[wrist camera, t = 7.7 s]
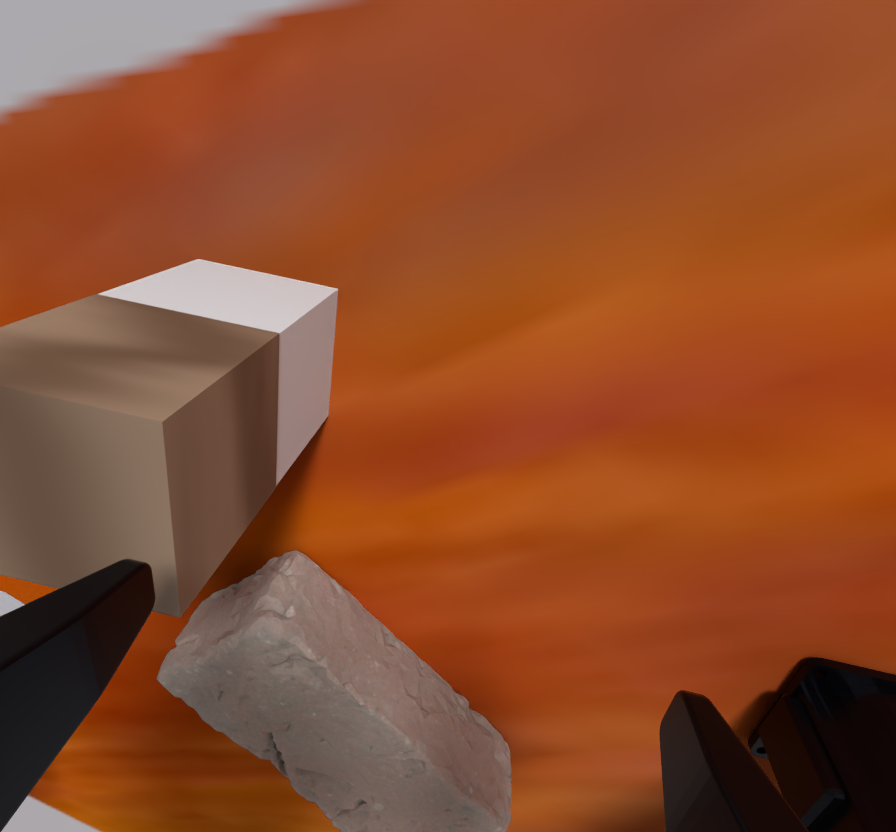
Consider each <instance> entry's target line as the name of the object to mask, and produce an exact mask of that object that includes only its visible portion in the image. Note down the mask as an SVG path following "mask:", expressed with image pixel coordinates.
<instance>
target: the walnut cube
mask: <svg viewBox="0 0 896 832" xmlns="http://www.w3.org/2000/svg"><path fill="white" fill-rule="evenodd" d="M279 334H280V333H276V332H272V331H267V330H262V329H258V328H253V327H248V326H244V325H239V324H234V323H230V322H225V321H220V320H216V319H211V318H206V317H202V316H197V315H192V314H188V313H183V312H178V311H174V310H169V309H164V308H160V307H155V306H150V305H146V304H141V303H136V302H132V301H127V300H122V299H118V298H113V297H108V296H104V295H99V294H95V295H92V296H89V297H86V298H83V299H80V300H77V301H75V302H72V303H69V304H66V305H63V306H60V307H57V308H54V309H52V310H49V311H46V312H43V313H40V314H37V315H34V316H31V317H29V318H26V319H23V320H20V321H17V322H14V323H11V324H8V325H6V326H3V327H0V575H4V576H8V577H12V578H16V579H21V580H25V581H29V582H33V583H37V584H41V585H46V586H50V587H54V588H58V589H60V588H62V587H64V586H66V585H68V584H71V583H73V582H75V581H77V580H79V579H81V578H84V577H86V576H88V575H90V574H92V573H94V572H96V571H99V570H101V569H103V568H105V567H107V566H109V565H111V564H114V563H116V562H118V561H120V560H123V559H133V560H137V561H142V562H146V563H148V564H149V565H150V566H151V568H152V574H153V582H154V589H155V604H154V607H153V609H152V611H154V612H158V613H162V614H167V615H171V616H175V617H179V618H181V617H182V615H183V614H184V613H185V611H186V610H187V609H188V607H189V606H190V604H191V603H192V602H193V600H194V599H195V598H196V596H197V595H198V594H199V592H200V591H201V590H202V588H203V587H204V585H205V584H206V583H207V581H208V580H209V579H210V577H211V576H212V575H213V573H214V572H215V571H216V569H217V568H218V567H219V565H220V564H221V562H222V561H223V560H224V558H225V557H226V556H227V554H228V553H229V552H230V550H231V549H232V548H233V546H234V545H235V543H236V542H237V541H238V539H239V538H240V537H241V535H242V534H243V533H244V531H245V530H246V529H247V527H248V526H249V524H250V523H251V522H252V520H253V519H254V518H255V516H256V515H257V514H258V512H259V511H260V510H261V508H262V507H263V505H264V504H265V503H266V501H267V500H268V499H269V497H270V496H271V495H272V493H273V492H274V491H275V489H276V466H277V422H278V378H279Z"/></svg>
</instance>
